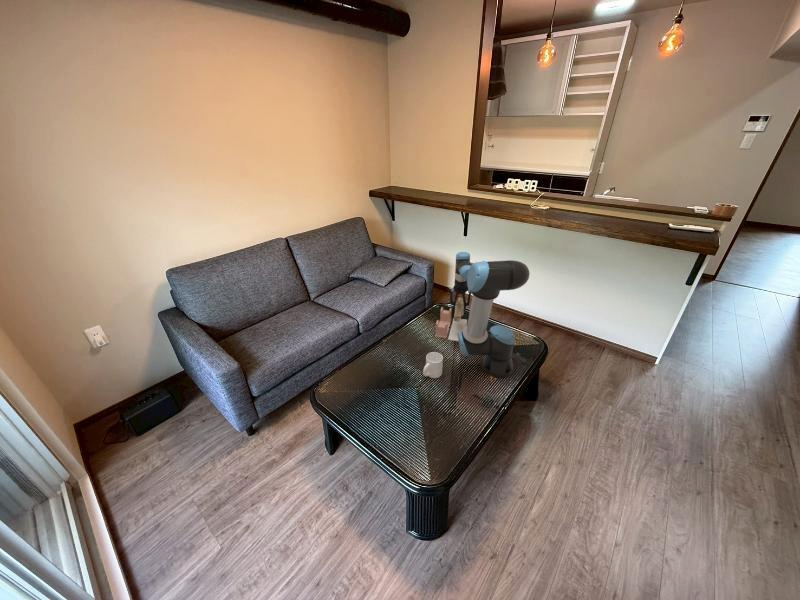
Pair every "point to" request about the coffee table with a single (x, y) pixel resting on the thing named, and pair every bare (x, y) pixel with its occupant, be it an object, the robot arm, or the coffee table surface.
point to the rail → (458, 310)
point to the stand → (443, 323)
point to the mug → (433, 365)
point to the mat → (456, 329)
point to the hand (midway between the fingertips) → (459, 314)
